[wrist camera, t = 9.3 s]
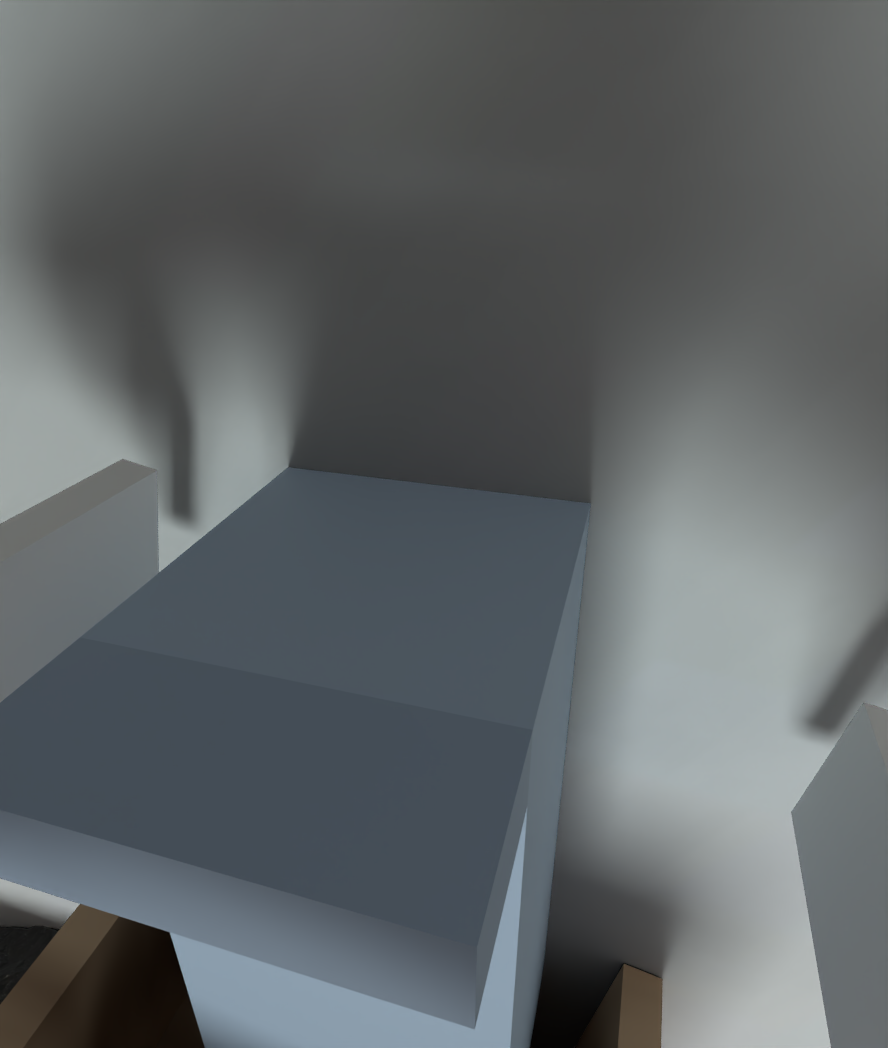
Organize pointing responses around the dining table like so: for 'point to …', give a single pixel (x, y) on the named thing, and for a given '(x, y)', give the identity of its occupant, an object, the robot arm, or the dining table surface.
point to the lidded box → (321, 762)
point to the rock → (20, 953)
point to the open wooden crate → (164, 1004)
